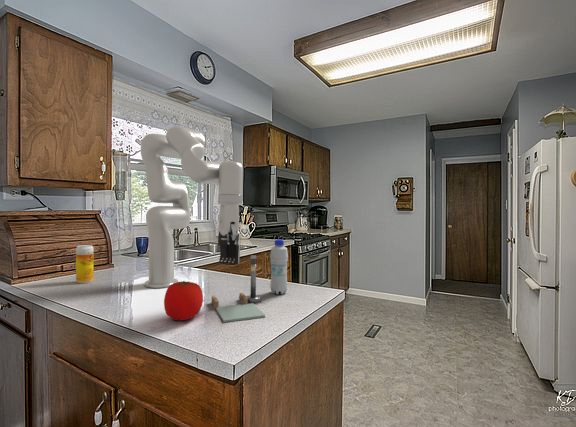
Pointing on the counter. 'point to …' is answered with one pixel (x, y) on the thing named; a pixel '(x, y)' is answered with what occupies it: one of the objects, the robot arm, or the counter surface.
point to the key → (253, 276)
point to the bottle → (279, 267)
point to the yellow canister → (84, 264)
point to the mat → (239, 312)
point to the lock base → (254, 299)
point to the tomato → (183, 300)
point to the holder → (241, 298)
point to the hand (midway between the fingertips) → (228, 254)
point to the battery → (222, 242)
